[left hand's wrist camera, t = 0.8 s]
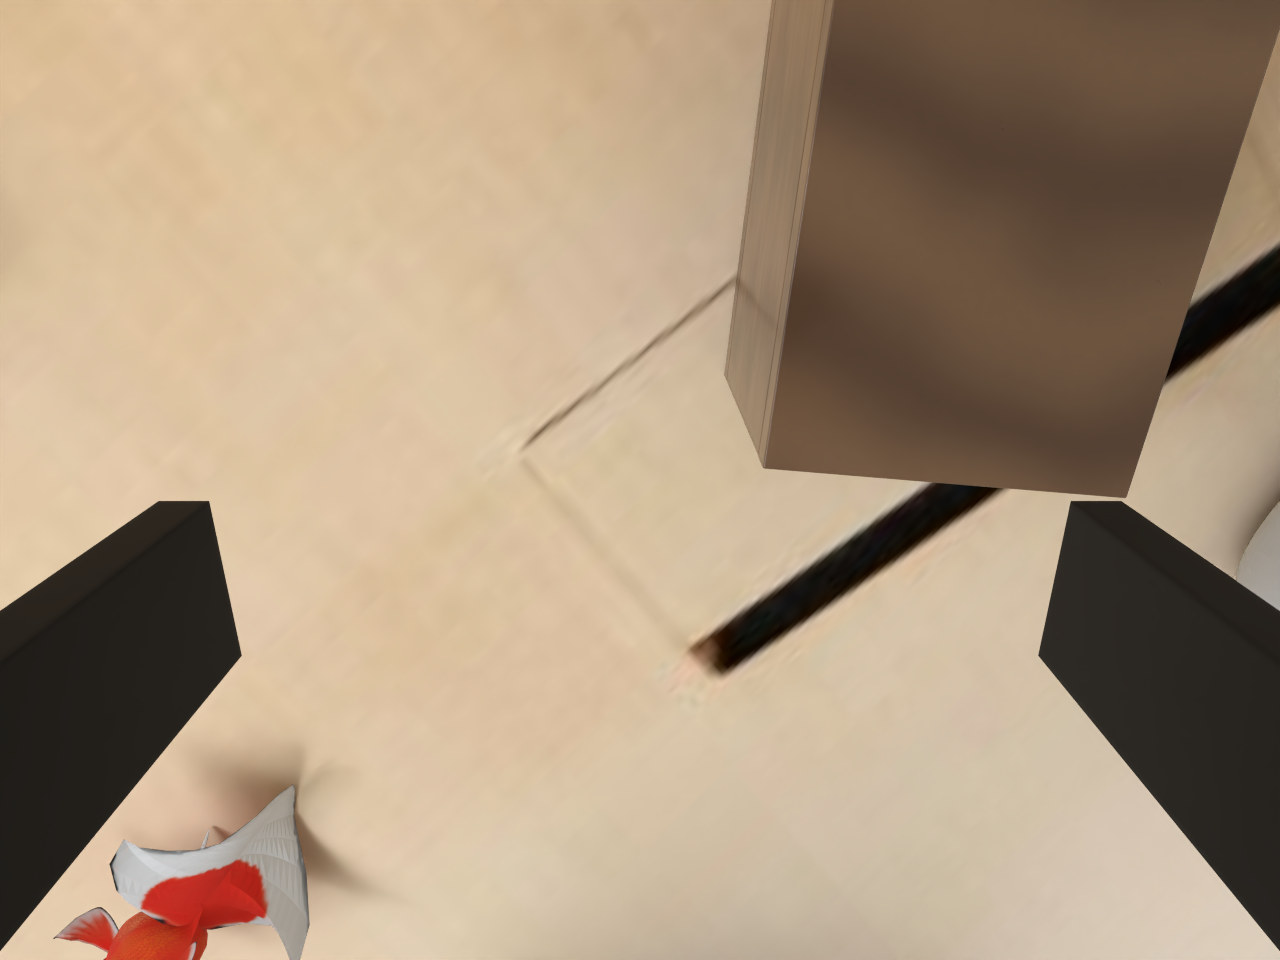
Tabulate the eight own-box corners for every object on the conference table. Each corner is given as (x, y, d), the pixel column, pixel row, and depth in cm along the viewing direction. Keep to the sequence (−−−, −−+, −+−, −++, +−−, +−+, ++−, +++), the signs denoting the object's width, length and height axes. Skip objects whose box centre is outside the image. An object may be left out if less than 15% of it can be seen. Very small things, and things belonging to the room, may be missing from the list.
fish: (-36, 904, 41) (-65, 1091, 33) (227, 691, 44) (257, 816, 36) (132, 971, 47) (140, 1140, 39) (350, 781, 50) (397, 902, 43)
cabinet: (792, -164, 29) (890, -380, 18) (1103, -131, 29) (1395, -321, 18) (724, 376, 36) (762, 468, 25) (975, 397, 36) (1126, 498, 25)
